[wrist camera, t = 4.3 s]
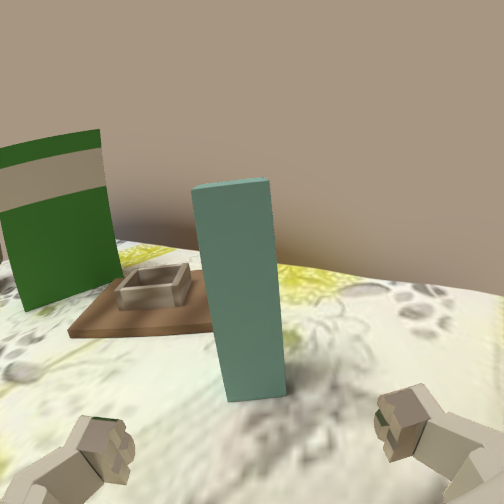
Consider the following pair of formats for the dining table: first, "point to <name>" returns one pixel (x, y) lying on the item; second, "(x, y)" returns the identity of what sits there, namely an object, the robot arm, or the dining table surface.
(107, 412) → the dining table surface
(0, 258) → the tabletop clock
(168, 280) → the socket board
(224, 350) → the teal post
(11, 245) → the hardback book
